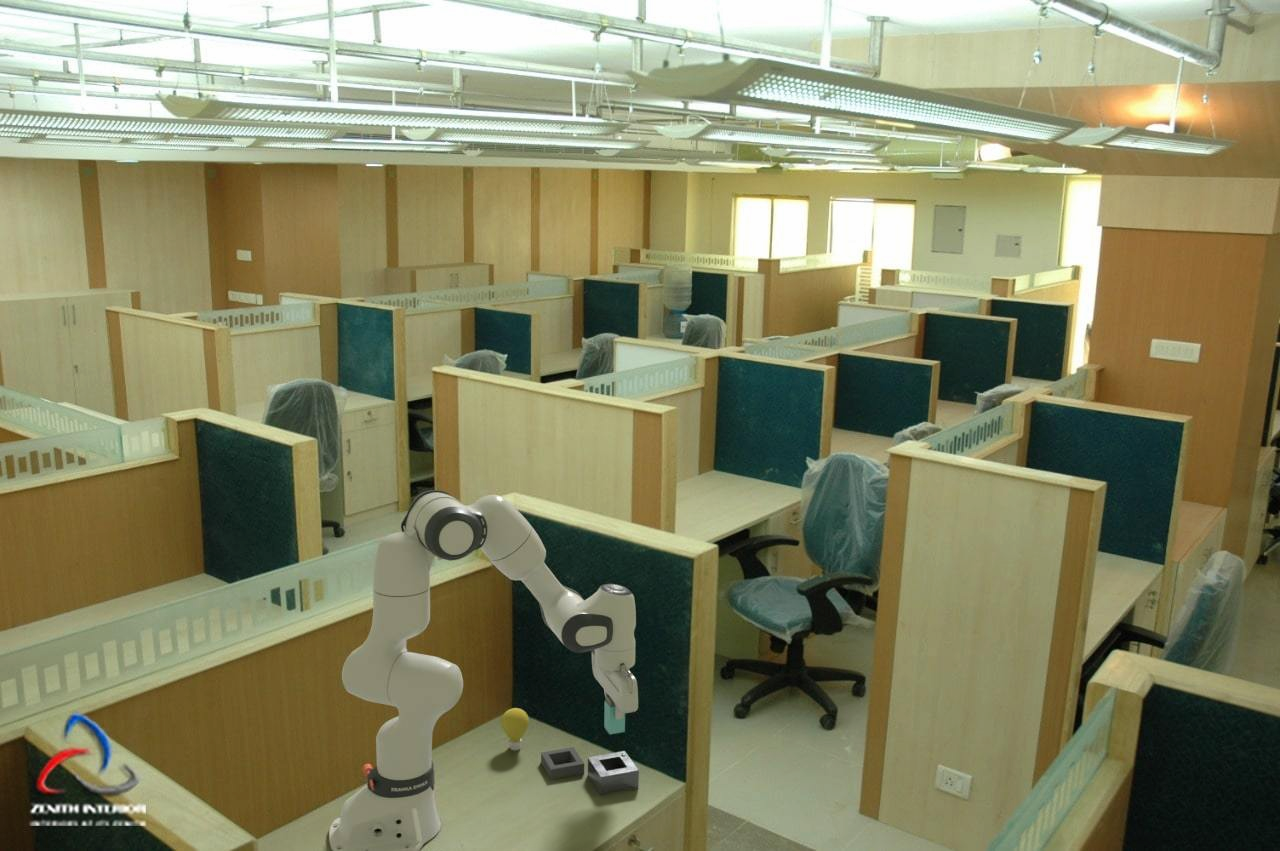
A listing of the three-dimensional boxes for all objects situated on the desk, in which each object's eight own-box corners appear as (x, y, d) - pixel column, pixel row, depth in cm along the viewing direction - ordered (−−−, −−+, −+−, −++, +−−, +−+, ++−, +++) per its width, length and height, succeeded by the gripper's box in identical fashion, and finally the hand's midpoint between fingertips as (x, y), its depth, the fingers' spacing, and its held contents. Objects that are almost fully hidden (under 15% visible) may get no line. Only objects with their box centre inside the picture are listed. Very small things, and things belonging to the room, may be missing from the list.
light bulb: (503, 740, 257) (503, 702, 255) (530, 741, 257) (531, 703, 255) (498, 754, 250) (498, 715, 248) (526, 755, 250) (527, 716, 248)
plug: (609, 734, 235) (610, 701, 233) (604, 726, 238) (604, 694, 237) (624, 731, 236) (625, 699, 235) (619, 724, 240) (619, 691, 238)
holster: (550, 779, 240) (550, 769, 240) (541, 762, 247) (541, 752, 247) (584, 773, 243) (584, 763, 242) (573, 756, 250) (573, 747, 250)
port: (600, 795, 234) (600, 776, 233) (587, 775, 242) (587, 756, 241) (638, 788, 237) (638, 769, 236) (624, 768, 245) (624, 750, 245)
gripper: (646, 673, 225) (644, 732, 228) (613, 635, 244) (612, 690, 247) (618, 677, 223) (617, 737, 226) (587, 639, 241) (586, 695, 245)
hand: (614, 712), depth 237 cm, fingers closed on plug, 4 cm apart
